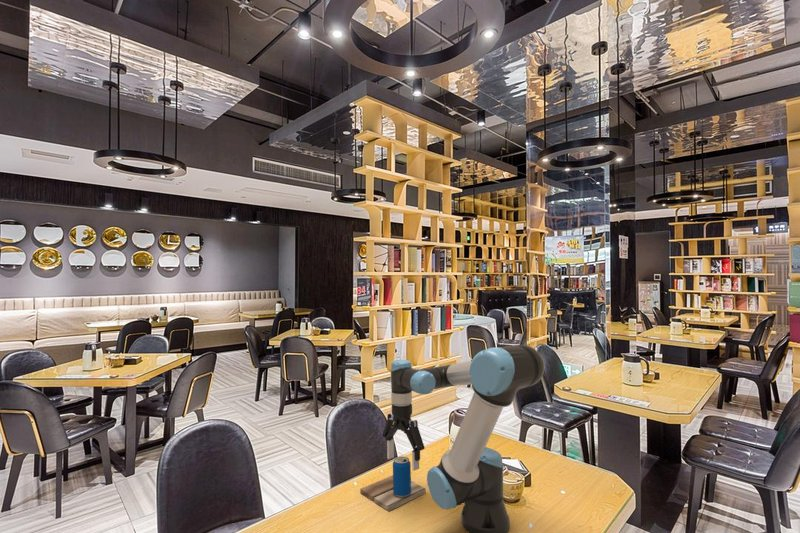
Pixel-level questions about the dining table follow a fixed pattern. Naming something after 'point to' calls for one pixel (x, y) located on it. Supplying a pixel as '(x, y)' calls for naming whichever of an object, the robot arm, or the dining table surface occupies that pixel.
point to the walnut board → (377, 488)
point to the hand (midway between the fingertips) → (402, 463)
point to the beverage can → (401, 476)
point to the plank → (393, 501)
